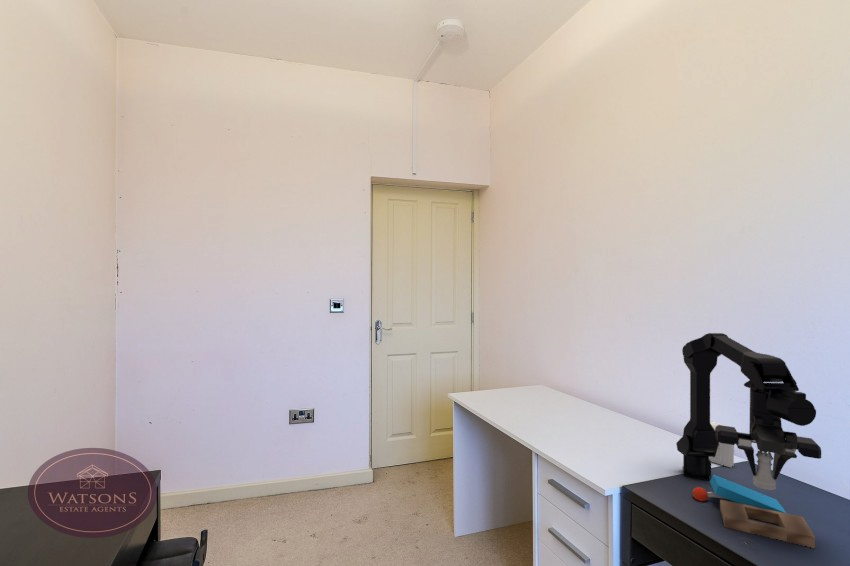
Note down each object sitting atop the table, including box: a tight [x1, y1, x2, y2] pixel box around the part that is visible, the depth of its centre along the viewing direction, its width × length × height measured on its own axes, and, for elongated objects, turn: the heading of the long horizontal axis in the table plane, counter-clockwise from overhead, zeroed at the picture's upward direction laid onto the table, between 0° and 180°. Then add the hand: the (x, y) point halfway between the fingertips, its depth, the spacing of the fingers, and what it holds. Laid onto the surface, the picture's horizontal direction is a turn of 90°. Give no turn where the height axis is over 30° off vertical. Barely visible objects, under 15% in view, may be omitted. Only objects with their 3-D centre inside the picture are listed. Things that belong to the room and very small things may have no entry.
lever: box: [692, 474, 787, 513], centre depth 108 cm, size 7×7×18 cm
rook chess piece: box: [751, 449, 777, 491], centre depth 98 cm, size 4×4×8 cm
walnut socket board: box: [719, 498, 816, 549], centre depth 98 cm, size 16×9×2 cm, turn 61°
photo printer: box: [709, 421, 735, 468], centre depth 135 cm, size 10×4×12 cm, turn 35°
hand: (764, 476), depth 98 cm, fingers closed on rook chess piece, 3 cm apart
